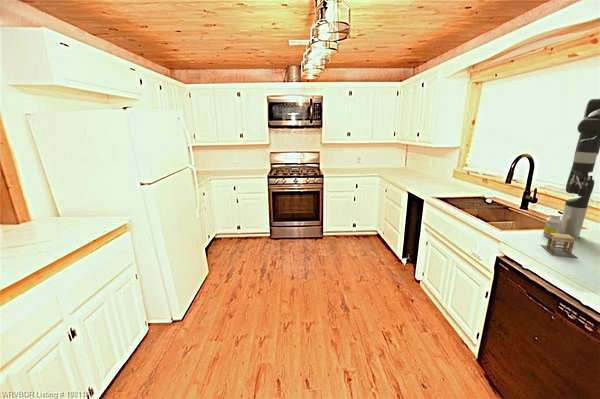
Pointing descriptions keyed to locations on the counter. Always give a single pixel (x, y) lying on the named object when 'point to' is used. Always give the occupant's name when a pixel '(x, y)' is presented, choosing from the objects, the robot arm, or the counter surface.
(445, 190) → the counter surface
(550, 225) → the supplement bottle
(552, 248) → the notched wooden block
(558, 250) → the rubber mat
